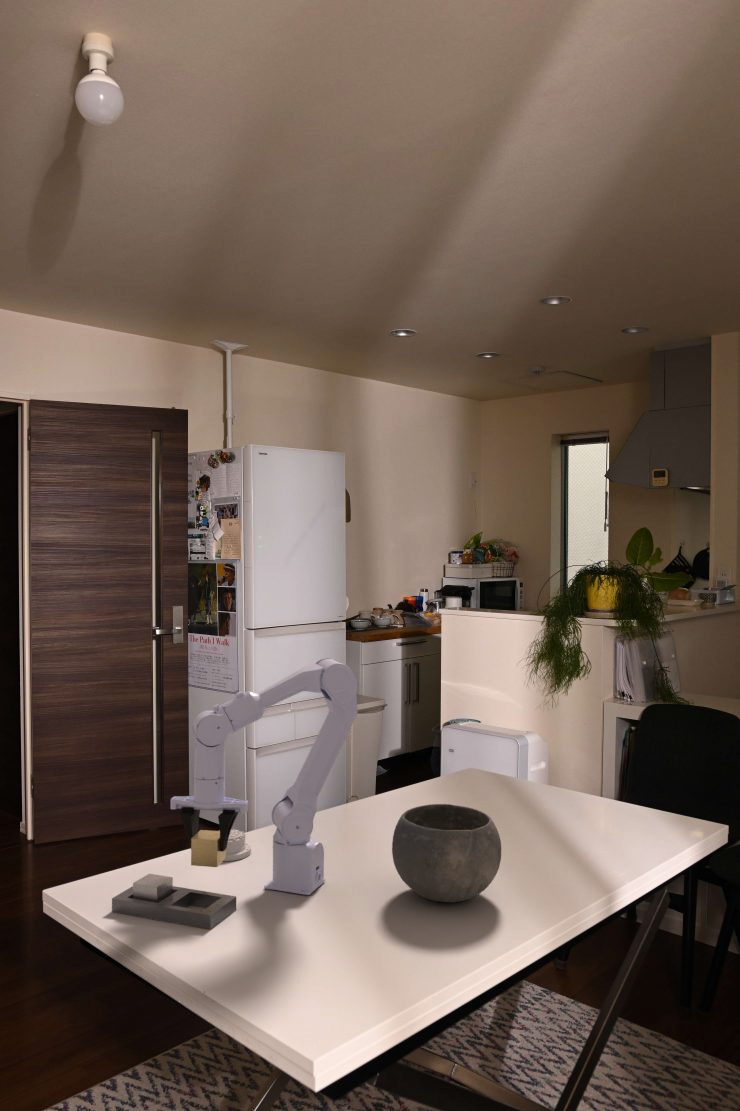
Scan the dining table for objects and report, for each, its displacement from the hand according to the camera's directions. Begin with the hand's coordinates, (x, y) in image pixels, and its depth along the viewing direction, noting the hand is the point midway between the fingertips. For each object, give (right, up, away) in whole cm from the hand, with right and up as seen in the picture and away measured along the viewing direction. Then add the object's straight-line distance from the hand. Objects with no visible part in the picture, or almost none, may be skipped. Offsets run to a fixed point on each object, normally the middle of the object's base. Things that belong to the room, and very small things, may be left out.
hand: (208, 848), depth 169 cm
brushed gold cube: (0, -2, 0) cm, 2 cm away
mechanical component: (0, -9, +22) cm, 24 cm away
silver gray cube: (-9, -9, -6) cm, 14 cm away
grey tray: (-5, -9, -8) cm, 13 cm away
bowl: (+44, -9, 0) cm, 45 cm away
